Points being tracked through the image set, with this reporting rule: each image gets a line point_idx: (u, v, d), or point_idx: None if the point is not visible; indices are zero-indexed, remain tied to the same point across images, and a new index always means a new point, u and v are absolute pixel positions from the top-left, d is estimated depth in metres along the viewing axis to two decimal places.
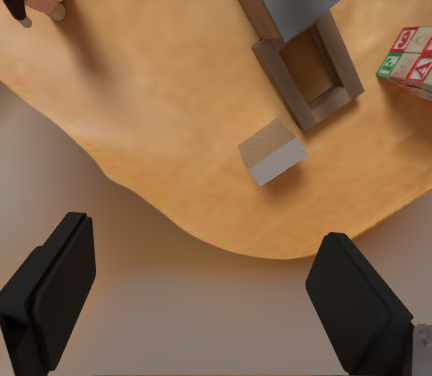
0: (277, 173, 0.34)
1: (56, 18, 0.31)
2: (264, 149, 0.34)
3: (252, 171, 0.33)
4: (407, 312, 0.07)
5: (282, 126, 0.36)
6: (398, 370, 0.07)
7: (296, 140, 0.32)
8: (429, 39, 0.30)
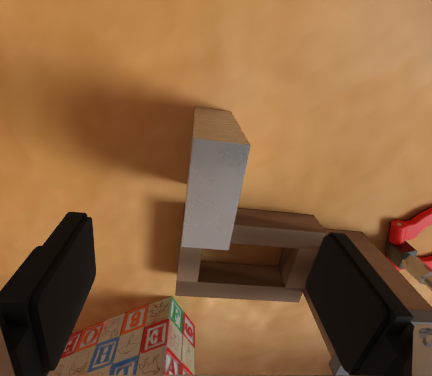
0: (192, 186, 0.15)
1: None
2: None
3: (239, 152, 0.14)
4: (406, 312, 0.07)
5: None
6: (398, 370, 0.07)
7: (223, 246, 0.17)
8: (188, 368, 0.28)
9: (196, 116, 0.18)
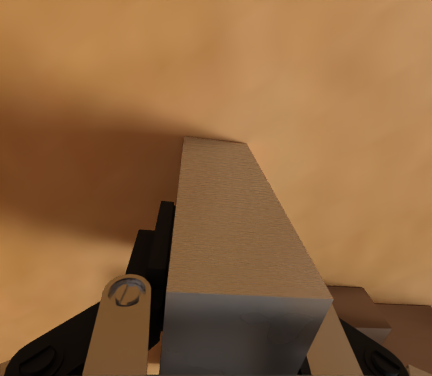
0: None
1: None
2: None
3: (299, 315, 0.05)
4: None
5: None
6: None
7: None
8: None
9: (184, 167, 0.09)
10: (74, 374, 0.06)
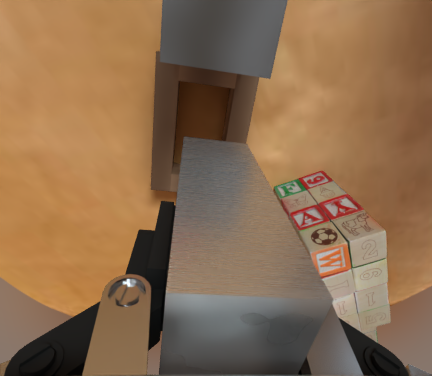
0: None
1: None
2: None
3: (299, 316, 0.05)
4: None
5: None
6: None
7: None
8: (332, 198, 0.27)
9: (184, 167, 0.09)
10: (74, 374, 0.06)
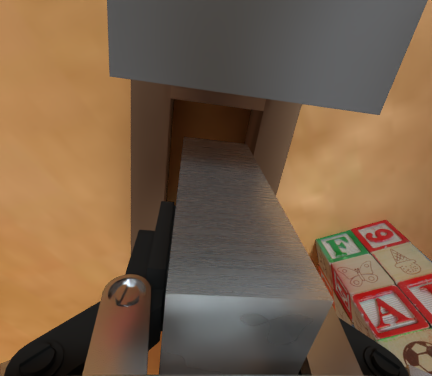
0: None
1: None
2: None
3: (299, 316, 0.05)
4: None
5: None
6: None
7: None
8: (419, 276, 0.17)
9: (184, 168, 0.09)
10: (74, 374, 0.06)
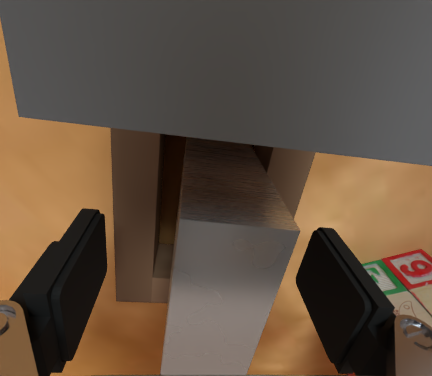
0: (178, 301, 0.08)
1: None
2: None
3: (276, 244, 0.07)
4: (389, 303, 0.08)
5: None
6: (380, 359, 0.07)
7: None
8: None
9: (189, 146, 0.11)
10: None
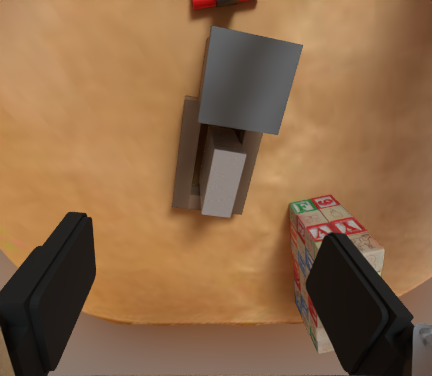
0: (211, 177, 0.25)
1: None
2: None
3: (240, 158, 0.25)
4: (406, 312, 0.07)
5: None
6: (398, 370, 0.07)
7: (226, 215, 0.27)
8: (341, 218, 0.33)
9: (212, 133, 0.29)
10: None
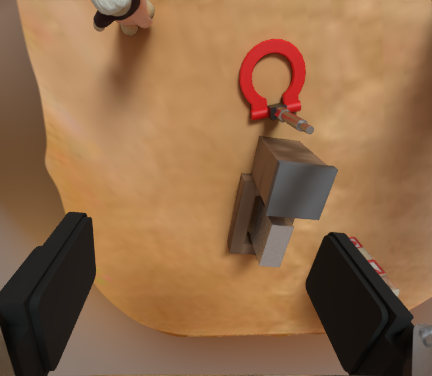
0: (268, 242, 0.36)
1: (123, 30, 0.31)
2: None
3: (289, 229, 0.35)
4: (406, 312, 0.07)
5: None
6: (398, 370, 0.07)
7: (277, 265, 0.38)
8: None
9: (263, 203, 0.39)
10: None
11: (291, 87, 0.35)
